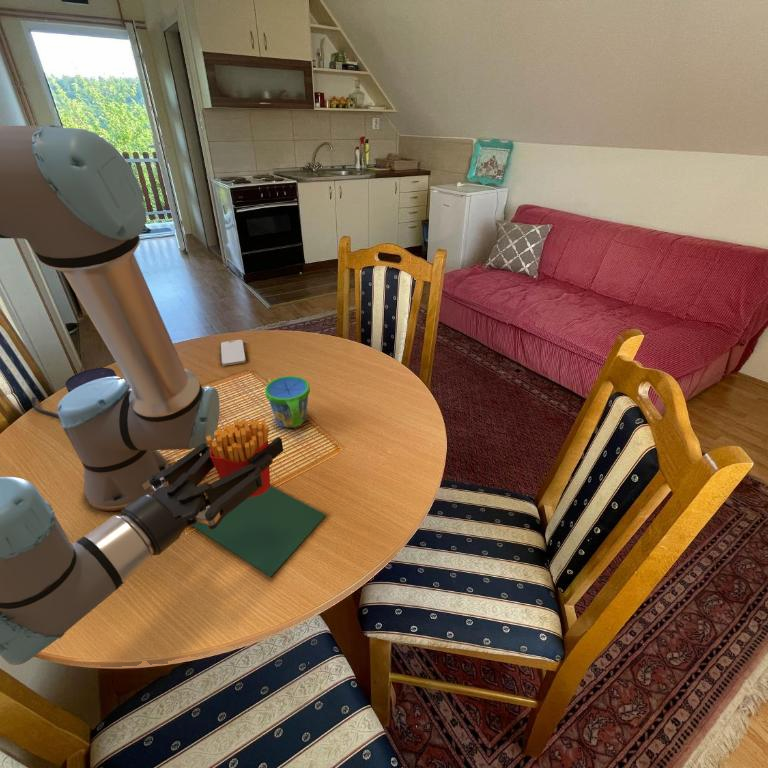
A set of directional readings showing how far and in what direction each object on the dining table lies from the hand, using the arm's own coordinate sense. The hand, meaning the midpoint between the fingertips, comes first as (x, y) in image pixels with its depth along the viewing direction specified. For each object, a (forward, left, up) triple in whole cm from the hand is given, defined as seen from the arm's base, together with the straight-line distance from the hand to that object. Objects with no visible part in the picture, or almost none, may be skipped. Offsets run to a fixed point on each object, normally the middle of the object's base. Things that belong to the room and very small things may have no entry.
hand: (266, 437), depth 70 cm
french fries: (0, -5, -8) cm, 9 cm away
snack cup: (-18, +24, -19) cm, 36 cm away
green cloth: (-2, -3, -19) cm, 19 cm away
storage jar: (-52, -2, -19) cm, 56 cm away
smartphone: (-58, +41, -19) cm, 74 cm away
